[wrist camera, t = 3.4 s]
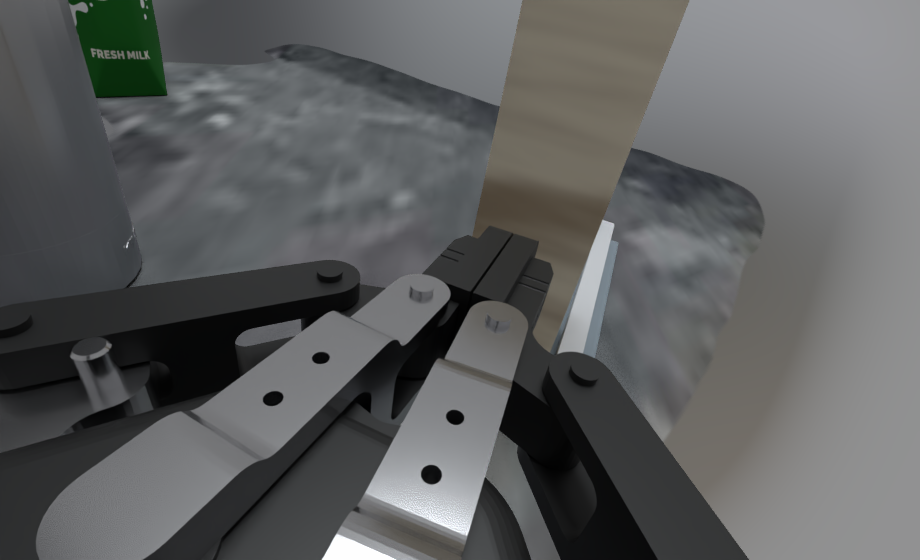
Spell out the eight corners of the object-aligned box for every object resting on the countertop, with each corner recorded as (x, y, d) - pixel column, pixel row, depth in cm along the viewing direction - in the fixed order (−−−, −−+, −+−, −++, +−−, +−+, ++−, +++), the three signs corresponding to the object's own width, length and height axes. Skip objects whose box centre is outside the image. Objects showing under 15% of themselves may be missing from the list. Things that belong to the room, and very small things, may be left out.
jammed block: (538, 380, 22) (753, -162, 11) (449, 343, 23) (561, -183, 12) (558, 325, 26) (729, -114, 15) (480, 295, 27) (587, -134, 16)
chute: (574, 437, 21) (603, 381, 19) (392, 358, 23) (399, 300, 21) (614, 252, 38) (632, 211, 36) (506, 216, 40) (516, 175, 38)
